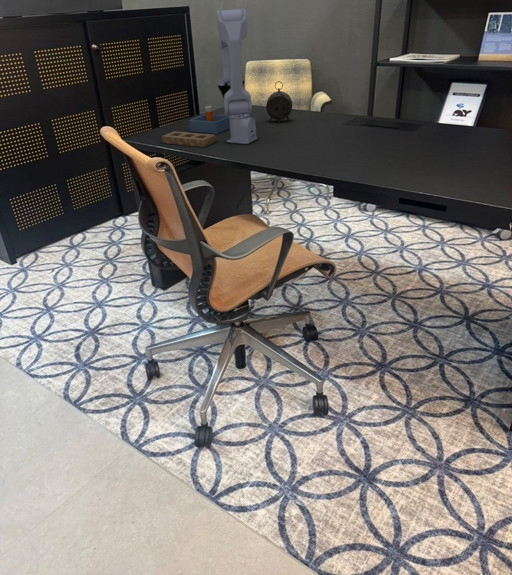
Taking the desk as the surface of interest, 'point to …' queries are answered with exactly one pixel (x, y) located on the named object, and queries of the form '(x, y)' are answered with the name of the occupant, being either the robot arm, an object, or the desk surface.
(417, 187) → the desk surface
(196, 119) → the bin
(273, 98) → the alarm clock
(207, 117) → the pill bottle
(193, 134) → the pen rack
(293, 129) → the desk surface
